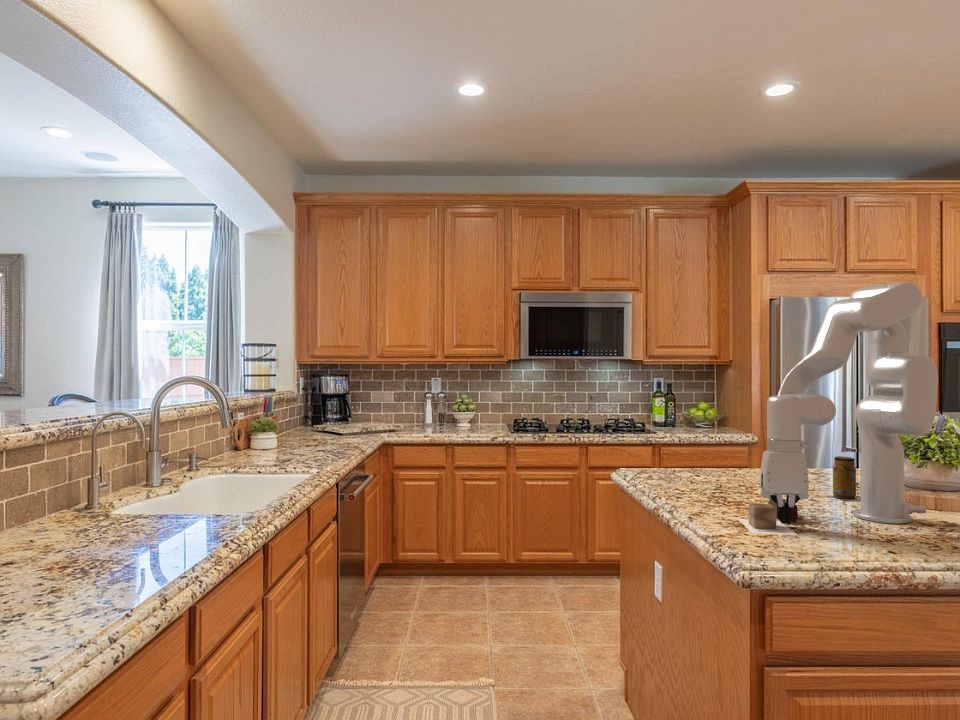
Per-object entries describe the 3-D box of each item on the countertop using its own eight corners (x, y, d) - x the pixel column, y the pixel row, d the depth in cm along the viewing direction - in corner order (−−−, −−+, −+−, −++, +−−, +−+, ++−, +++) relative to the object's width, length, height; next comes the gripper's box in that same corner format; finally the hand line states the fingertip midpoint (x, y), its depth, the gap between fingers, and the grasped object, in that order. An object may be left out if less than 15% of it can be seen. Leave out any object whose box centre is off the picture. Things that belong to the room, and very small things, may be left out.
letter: (779, 521, 160) (779, 520, 160) (797, 535, 146) (797, 534, 146) (738, 519, 162) (738, 518, 162) (751, 533, 148) (751, 532, 148)
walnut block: (770, 524, 156) (770, 503, 156) (776, 529, 151) (776, 508, 151) (748, 523, 157) (748, 503, 157) (754, 528, 152) (754, 507, 152)
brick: (798, 523, 158) (798, 505, 158) (781, 523, 158) (781, 504, 159) (783, 514, 169) (783, 496, 169) (767, 513, 169) (767, 496, 169)
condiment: (845, 494, 194) (845, 455, 194) (868, 500, 185) (867, 459, 185) (825, 495, 192) (824, 456, 192) (847, 501, 184) (846, 460, 184)
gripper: (811, 445, 156) (812, 520, 156) (747, 444, 158) (747, 517, 158) (823, 449, 148) (823, 527, 148) (755, 448, 151) (755, 525, 151)
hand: (784, 522), depth 153 cm, fingers closed
